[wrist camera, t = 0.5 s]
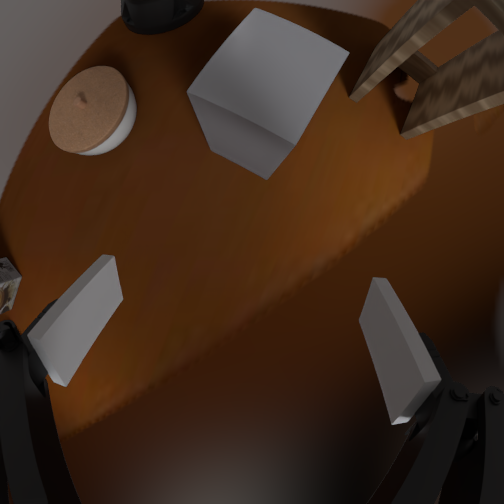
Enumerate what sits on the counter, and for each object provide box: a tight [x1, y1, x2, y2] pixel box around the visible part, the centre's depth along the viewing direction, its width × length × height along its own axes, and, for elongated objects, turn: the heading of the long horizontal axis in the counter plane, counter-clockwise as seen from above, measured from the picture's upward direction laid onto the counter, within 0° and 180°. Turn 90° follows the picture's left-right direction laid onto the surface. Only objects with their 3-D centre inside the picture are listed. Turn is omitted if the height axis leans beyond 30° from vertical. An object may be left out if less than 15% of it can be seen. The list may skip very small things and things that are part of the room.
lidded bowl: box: [49, 66, 137, 155], centre depth 30 cm, size 13×13×11 cm
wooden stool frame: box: [349, 0, 504, 140], centre depth 22 cm, size 15×12×31 cm
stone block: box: [187, 8, 349, 180], centre depth 27 cm, size 10×9×20 cm
